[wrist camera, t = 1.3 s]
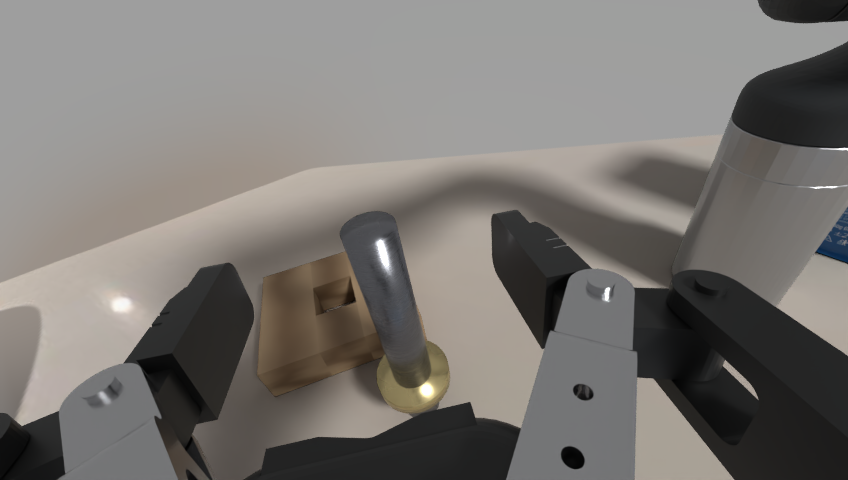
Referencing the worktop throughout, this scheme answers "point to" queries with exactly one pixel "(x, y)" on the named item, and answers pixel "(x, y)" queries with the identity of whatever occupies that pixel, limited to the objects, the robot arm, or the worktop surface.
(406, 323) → the steel pin
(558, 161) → the worktop surface
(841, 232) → the blue food package
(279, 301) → the wooden base block
